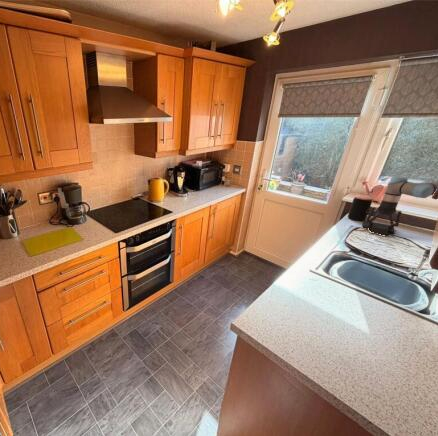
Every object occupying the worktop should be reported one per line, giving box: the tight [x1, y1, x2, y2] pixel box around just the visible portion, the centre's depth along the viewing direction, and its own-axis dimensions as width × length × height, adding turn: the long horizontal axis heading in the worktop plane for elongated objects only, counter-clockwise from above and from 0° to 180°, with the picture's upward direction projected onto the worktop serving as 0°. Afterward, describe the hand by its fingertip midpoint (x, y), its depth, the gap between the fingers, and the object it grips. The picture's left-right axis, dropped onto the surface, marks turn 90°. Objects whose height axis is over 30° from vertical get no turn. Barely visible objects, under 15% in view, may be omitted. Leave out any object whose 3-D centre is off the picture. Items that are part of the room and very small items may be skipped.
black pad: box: [370, 224, 388, 237], centre depth 156 cm, size 11×8×5 cm
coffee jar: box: [347, 194, 374, 222], centre depth 176 cm, size 11×11×18 cm
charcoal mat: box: [361, 220, 396, 236], centre depth 163 cm, size 14×16×2 cm
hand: (377, 232), depth 156 cm, fingers closed on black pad, 8 cm apart
